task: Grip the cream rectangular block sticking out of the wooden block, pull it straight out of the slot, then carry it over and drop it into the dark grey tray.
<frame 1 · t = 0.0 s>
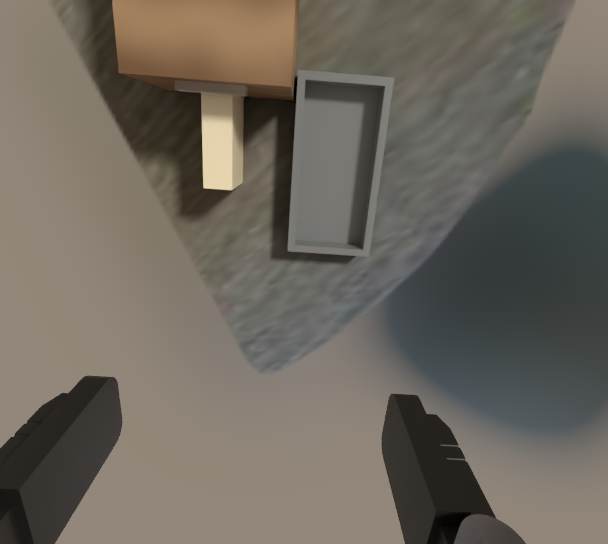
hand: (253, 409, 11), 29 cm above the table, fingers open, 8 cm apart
tray: (334, 169, 37), on the table
cream rectangular block: (230, 118, 35), resting in wooden block
wooden block: (230, 7, 32), on the table
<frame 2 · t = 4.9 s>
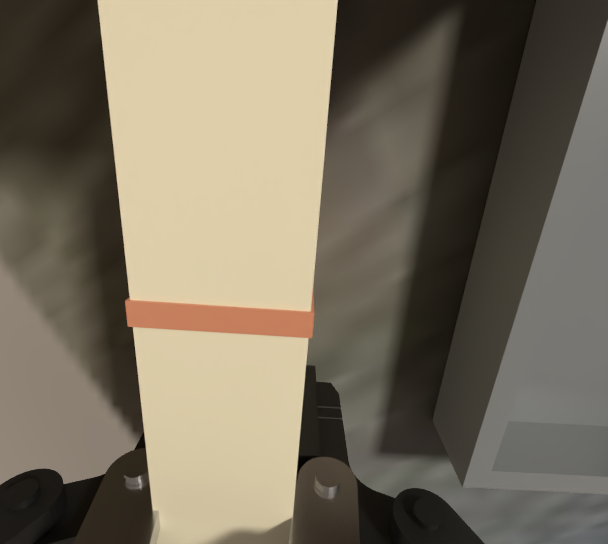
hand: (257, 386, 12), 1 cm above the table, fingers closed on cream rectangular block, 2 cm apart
cream rectangular block: (262, 285, 11), touching gripper
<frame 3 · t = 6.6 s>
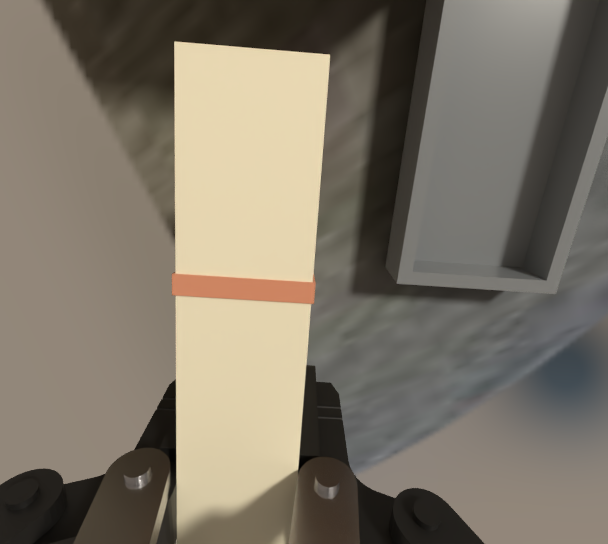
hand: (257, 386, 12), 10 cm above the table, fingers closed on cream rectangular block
tray: (489, 121, 19), on the table
cream rectangular block: (266, 299, 13), point 8 cm above the table, tilted 7°, touching gripper
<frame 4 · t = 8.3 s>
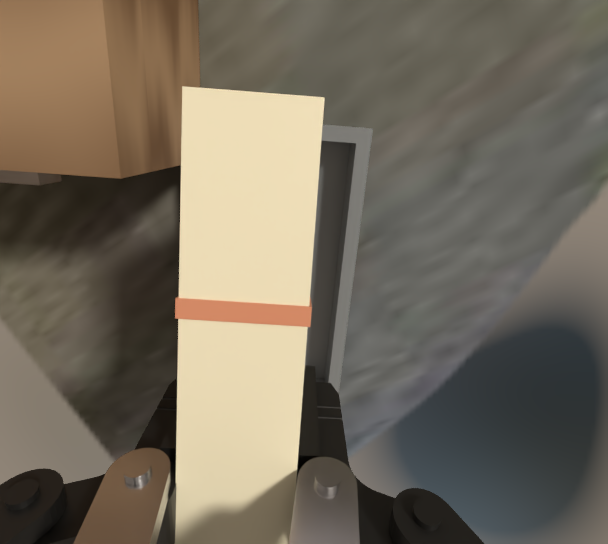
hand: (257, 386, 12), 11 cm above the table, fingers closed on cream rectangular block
tray: (278, 267, 22), on the table
cream rectangular block: (265, 322, 13), point 9 cm above the table, tilted 12°, touching gripper
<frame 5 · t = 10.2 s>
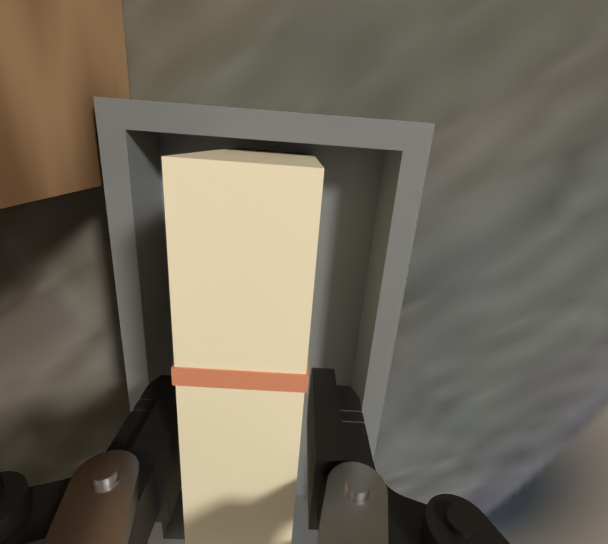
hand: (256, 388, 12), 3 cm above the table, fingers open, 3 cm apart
tray: (265, 341, 14), on the table
cream rectangular block: (266, 322, 13), point 1 cm above the table, touching tray
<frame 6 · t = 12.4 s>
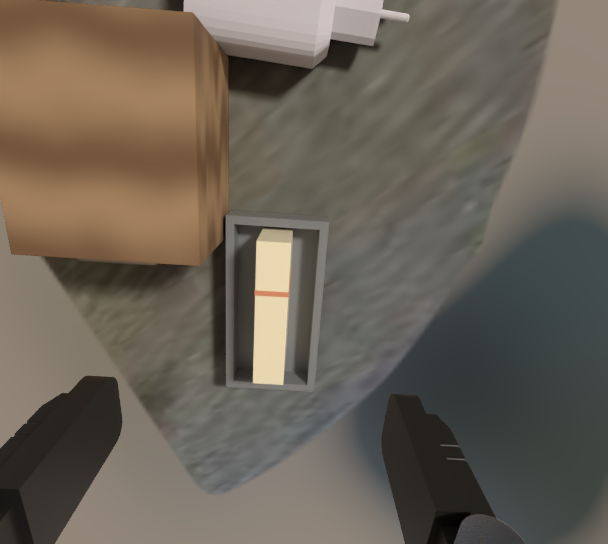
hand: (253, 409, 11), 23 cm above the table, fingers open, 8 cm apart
tray: (275, 299, 34), on the table
cream rectangular block: (276, 289, 33), point 1 cm above the table, touching tray
charger: (304, 1, 27), on the table
wooden block: (156, 147, 30), on the table
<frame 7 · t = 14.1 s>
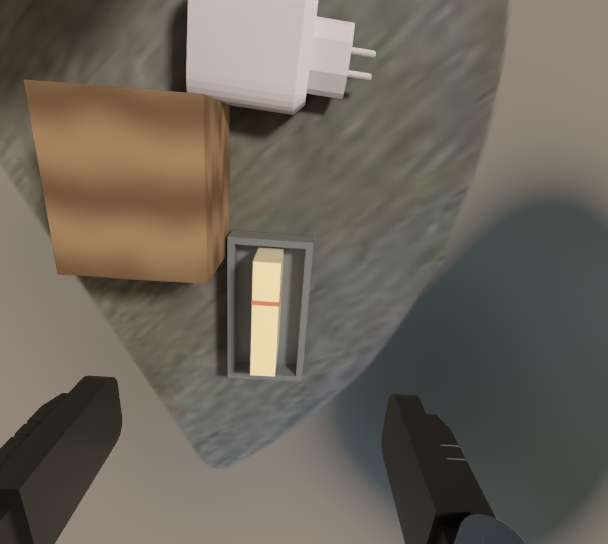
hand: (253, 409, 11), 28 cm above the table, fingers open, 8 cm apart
tray: (269, 304, 40), on the table
cream rectangular block: (269, 296, 39), point 1 cm above the table, touching tray
charger: (286, 58, 32), on the table
wooden block: (168, 178, 36), on the table
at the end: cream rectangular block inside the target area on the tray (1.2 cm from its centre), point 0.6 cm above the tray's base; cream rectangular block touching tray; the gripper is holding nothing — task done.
